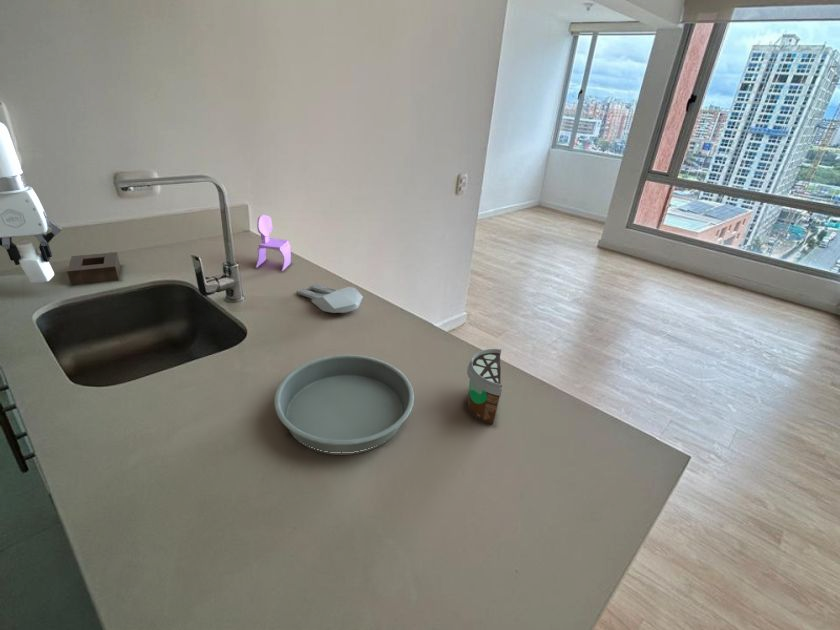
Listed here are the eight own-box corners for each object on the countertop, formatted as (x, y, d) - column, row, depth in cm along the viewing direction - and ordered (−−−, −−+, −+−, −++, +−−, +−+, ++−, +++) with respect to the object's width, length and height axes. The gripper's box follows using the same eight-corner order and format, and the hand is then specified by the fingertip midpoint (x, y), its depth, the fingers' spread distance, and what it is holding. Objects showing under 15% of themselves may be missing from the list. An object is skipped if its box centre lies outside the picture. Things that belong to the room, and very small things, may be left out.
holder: (71, 285, 114) (66, 271, 112) (76, 269, 122) (71, 256, 120) (119, 280, 119) (115, 266, 117) (120, 265, 126) (116, 252, 124)
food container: (463, 383, 93) (470, 343, 88) (493, 388, 92) (501, 347, 87) (459, 424, 82) (466, 381, 77) (493, 429, 81) (502, 386, 77)
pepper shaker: (29, 284, 106) (9, 247, 100) (37, 276, 109) (18, 240, 103) (48, 282, 106) (29, 246, 101) (56, 274, 110) (38, 239, 104)
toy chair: (282, 272, 131) (279, 223, 124) (254, 268, 132) (248, 219, 124) (293, 262, 138) (290, 214, 131) (266, 258, 139) (261, 211, 132)
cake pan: (428, 389, 90) (430, 371, 88) (382, 482, 69) (383, 462, 67) (319, 359, 96) (318, 342, 93) (246, 437, 75) (243, 417, 73)
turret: (321, 292, 127) (319, 276, 125) (370, 308, 115) (369, 290, 113) (291, 303, 120) (289, 286, 118) (341, 321, 108) (339, 303, 106)
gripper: (-56, 189, 89) (-19, 272, 98) (50, 185, 97) (75, 263, 106) (-44, 180, 95) (-10, 259, 104) (55, 177, 102) (79, 251, 111)
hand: (33, 260), depth 105 cm, fingers closed on pepper shaker, 4 cm apart
